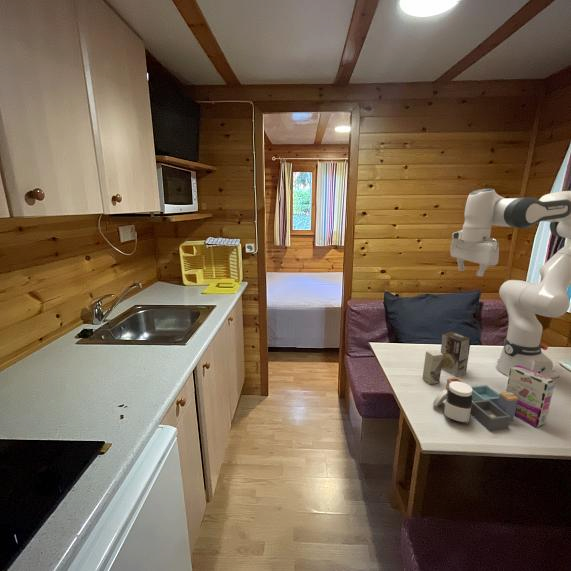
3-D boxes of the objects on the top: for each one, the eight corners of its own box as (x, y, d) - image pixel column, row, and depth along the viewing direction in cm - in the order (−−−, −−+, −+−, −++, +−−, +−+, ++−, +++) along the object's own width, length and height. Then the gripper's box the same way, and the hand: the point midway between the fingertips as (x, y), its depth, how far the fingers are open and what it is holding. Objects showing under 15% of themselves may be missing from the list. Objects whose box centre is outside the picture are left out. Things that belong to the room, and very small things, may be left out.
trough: (485, 393, 119) (486, 384, 118) (502, 406, 111) (503, 397, 110) (466, 395, 118) (467, 386, 117) (482, 408, 110) (483, 399, 109)
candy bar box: (546, 424, 102) (556, 380, 98) (537, 428, 100) (547, 384, 96) (510, 404, 112) (518, 363, 108) (501, 408, 110) (509, 367, 106)
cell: (504, 414, 107) (509, 390, 104) (513, 421, 104) (518, 396, 101) (495, 415, 106) (500, 391, 104) (504, 422, 103) (509, 397, 101)
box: (429, 384, 125) (432, 355, 121) (421, 379, 129) (425, 350, 125) (440, 382, 126) (444, 354, 123) (432, 377, 130) (436, 349, 127)
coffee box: (466, 373, 132) (472, 338, 128) (456, 377, 130) (461, 341, 126) (447, 363, 140) (452, 330, 136) (437, 367, 138) (442, 333, 133)
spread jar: (469, 429, 100) (474, 398, 97) (430, 418, 106) (434, 388, 102) (468, 408, 110) (473, 379, 107) (433, 399, 116) (437, 371, 113)
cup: (455, 388, 122) (457, 377, 120) (463, 395, 118) (465, 383, 116) (445, 389, 121) (447, 378, 120) (453, 396, 117) (454, 385, 116)
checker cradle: (484, 408, 110) (486, 397, 109) (508, 428, 100) (510, 416, 99) (466, 410, 109) (468, 399, 108) (489, 431, 99) (491, 419, 98)
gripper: (507, 238, 102) (500, 279, 106) (463, 232, 122) (459, 267, 125) (490, 239, 101) (483, 280, 105) (449, 233, 121) (444, 268, 124)
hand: (470, 273), depth 115 cm, fingers open, 8 cm apart
